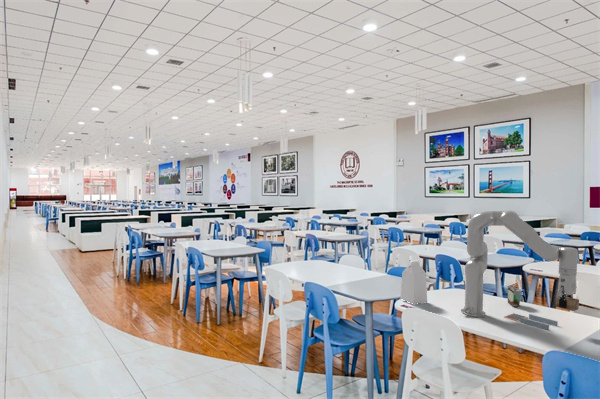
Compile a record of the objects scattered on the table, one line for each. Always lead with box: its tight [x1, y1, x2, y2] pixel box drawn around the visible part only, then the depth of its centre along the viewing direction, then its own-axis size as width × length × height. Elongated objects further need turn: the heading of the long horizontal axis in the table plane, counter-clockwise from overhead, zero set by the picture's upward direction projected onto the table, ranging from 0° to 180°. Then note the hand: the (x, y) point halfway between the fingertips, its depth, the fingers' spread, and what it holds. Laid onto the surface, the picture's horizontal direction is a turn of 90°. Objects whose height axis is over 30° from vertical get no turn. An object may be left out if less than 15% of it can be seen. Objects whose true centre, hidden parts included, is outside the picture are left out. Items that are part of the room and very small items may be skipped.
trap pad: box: [503, 312, 529, 322], centre depth 218 cm, size 11×8×1 cm
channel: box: [519, 313, 559, 331], centre depth 208 cm, size 11×14×2 cm
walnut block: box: [555, 295, 580, 312], centre depth 196 cm, size 6×8×5 cm
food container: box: [506, 286, 522, 308], centre depth 241 cm, size 12×6×10 cm, turn 168°
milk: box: [399, 260, 428, 305], centre depth 247 cm, size 12×12×26 cm
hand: (565, 306), depth 197 cm, fingers closed on walnut block, 6 cm apart
